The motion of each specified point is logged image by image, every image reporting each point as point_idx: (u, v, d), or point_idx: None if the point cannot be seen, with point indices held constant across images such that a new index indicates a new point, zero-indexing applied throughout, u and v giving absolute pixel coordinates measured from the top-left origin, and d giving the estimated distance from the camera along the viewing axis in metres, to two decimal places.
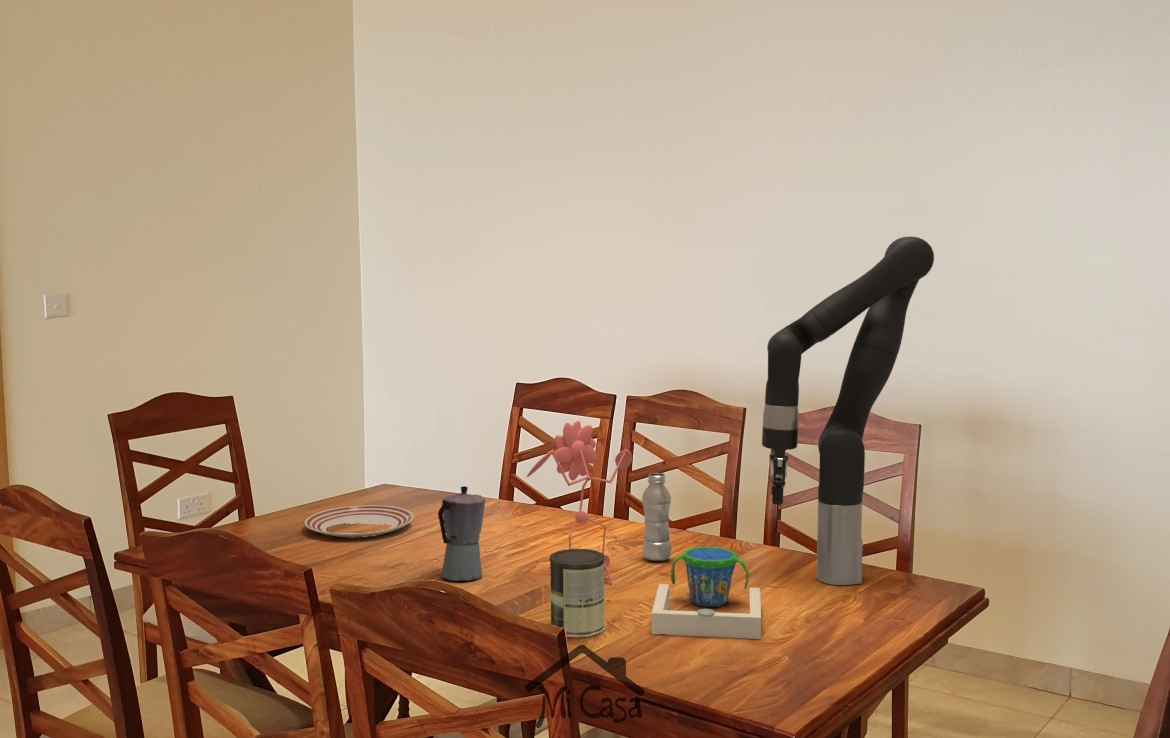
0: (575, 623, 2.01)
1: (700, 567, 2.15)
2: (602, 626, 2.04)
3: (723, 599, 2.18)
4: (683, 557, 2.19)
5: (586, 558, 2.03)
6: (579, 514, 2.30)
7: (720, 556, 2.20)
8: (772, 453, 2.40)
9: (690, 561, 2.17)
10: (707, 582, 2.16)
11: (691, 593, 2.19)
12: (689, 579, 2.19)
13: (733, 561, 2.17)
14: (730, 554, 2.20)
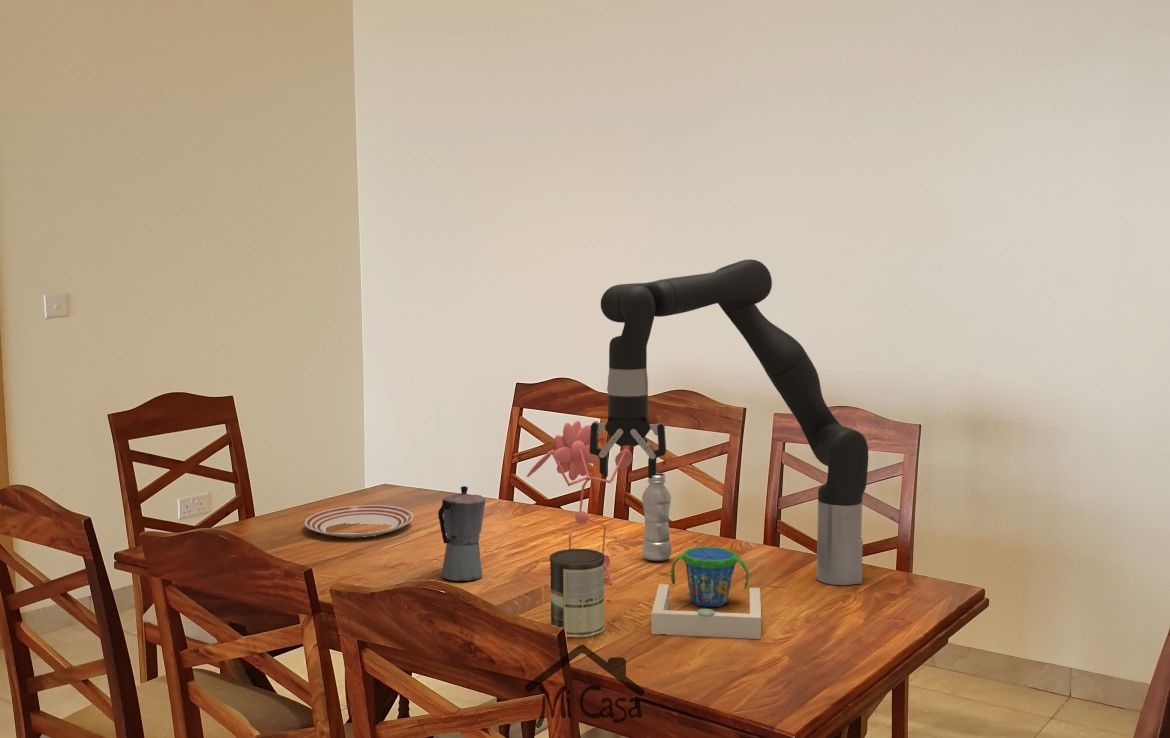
0: (575, 623, 2.01)
1: (700, 567, 2.15)
2: (602, 626, 2.04)
3: (723, 599, 2.18)
4: (683, 557, 2.19)
5: (586, 558, 2.03)
6: (579, 514, 2.30)
7: (720, 556, 2.20)
8: (597, 430, 2.05)
9: (690, 561, 2.17)
10: (707, 582, 2.16)
11: (691, 593, 2.19)
12: (689, 579, 2.19)
13: (733, 561, 2.17)
14: (730, 554, 2.20)
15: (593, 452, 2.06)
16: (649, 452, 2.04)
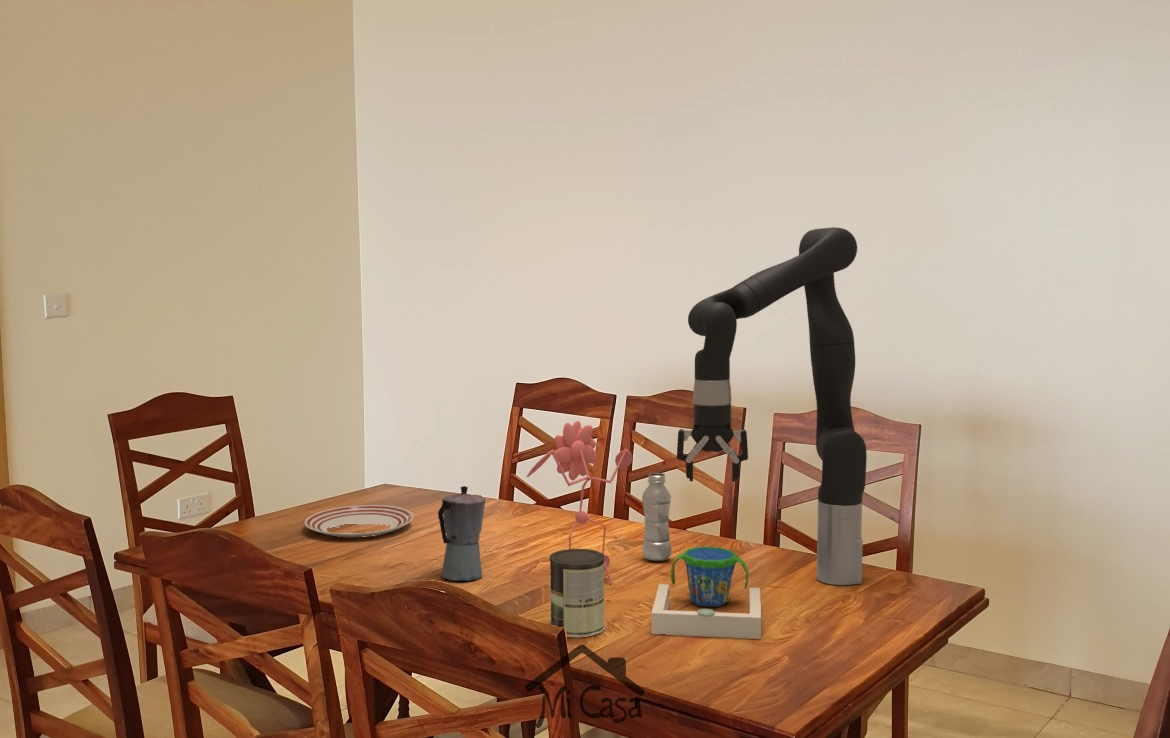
0: (575, 623, 2.01)
1: (700, 567, 2.15)
2: (602, 626, 2.04)
3: (723, 599, 2.18)
4: (683, 557, 2.19)
5: (586, 558, 2.03)
6: (579, 514, 2.30)
7: (720, 556, 2.20)
8: (683, 437, 2.20)
9: (690, 561, 2.17)
10: (707, 582, 2.16)
11: (691, 593, 2.19)
12: (689, 579, 2.19)
13: (733, 561, 2.17)
14: (730, 554, 2.20)
15: (680, 458, 2.20)
16: (733, 457, 2.19)
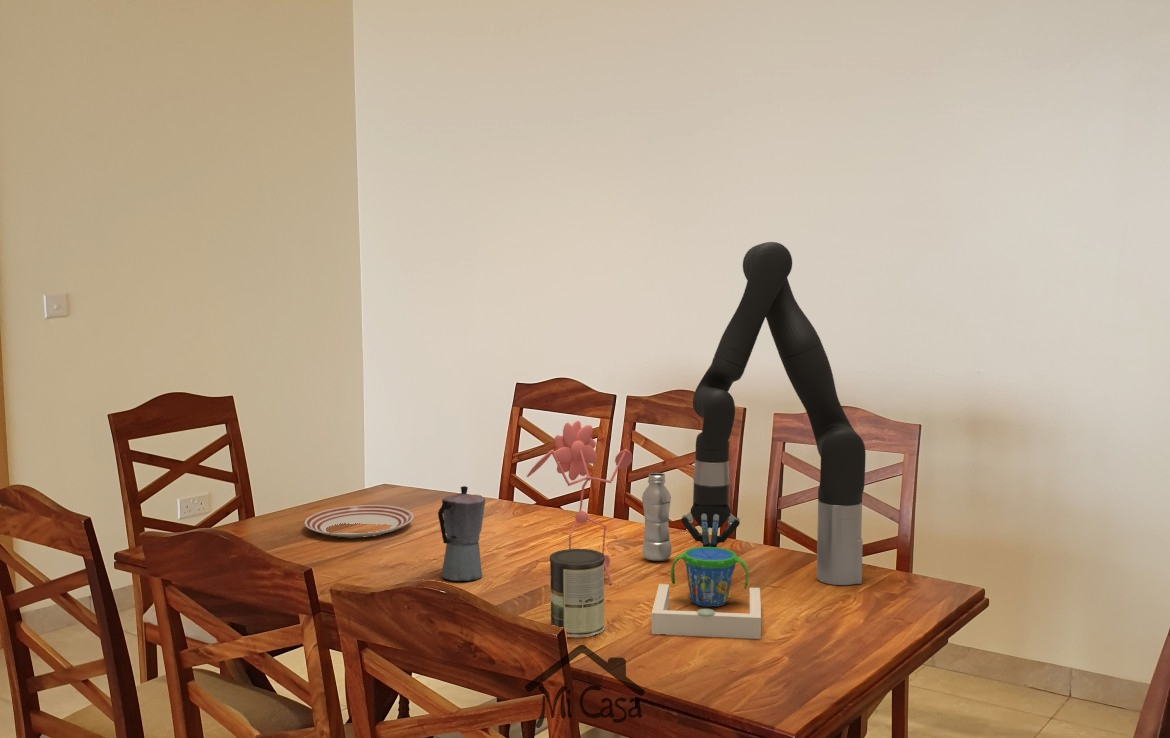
0: (575, 623, 2.01)
1: (700, 567, 2.15)
2: (602, 626, 2.04)
3: (723, 599, 2.18)
4: (683, 557, 2.19)
5: (586, 558, 2.03)
6: (579, 514, 2.30)
7: (720, 556, 2.20)
8: (688, 521, 2.32)
9: (690, 561, 2.17)
10: (707, 582, 2.16)
11: (691, 593, 2.19)
12: (689, 579, 2.19)
13: (733, 561, 2.17)
14: (730, 554, 2.20)
15: (698, 539, 2.32)
16: (713, 538, 2.32)
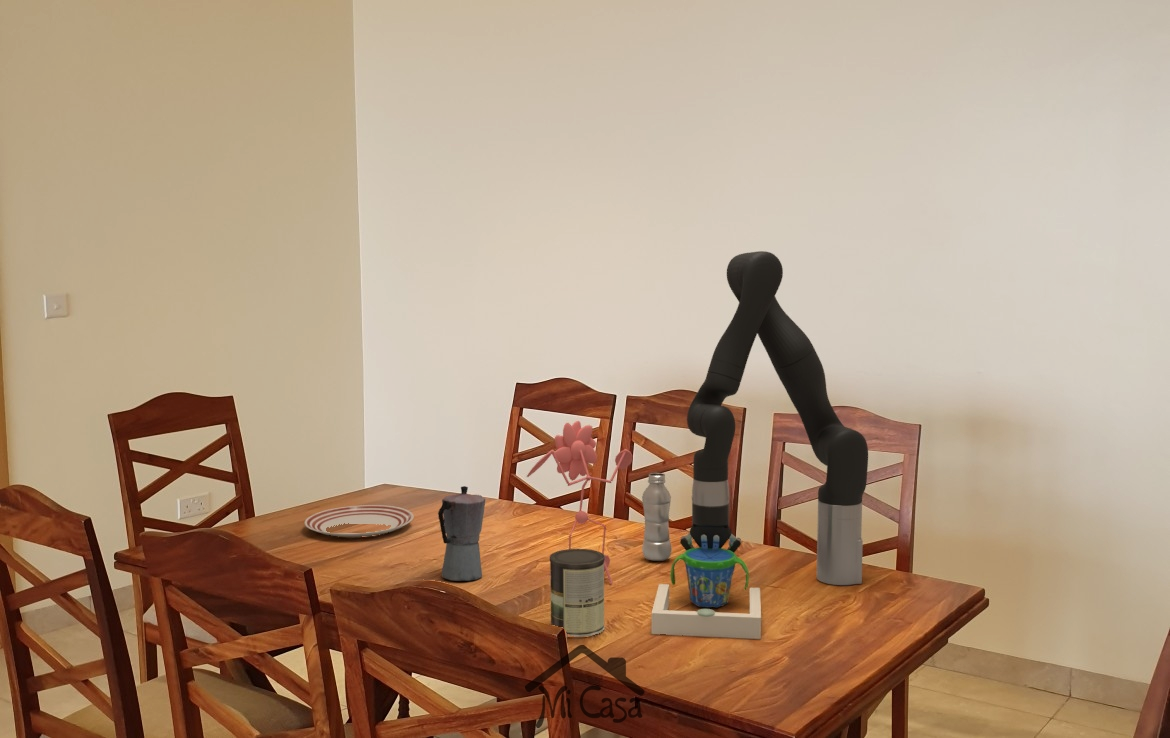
0: (575, 623, 2.01)
1: (699, 568, 2.15)
2: (602, 626, 2.04)
3: (722, 600, 2.17)
4: (683, 558, 2.19)
5: (586, 558, 2.03)
6: (579, 514, 2.30)
7: (720, 557, 2.19)
8: (687, 543, 2.24)
9: (689, 562, 2.16)
10: (706, 583, 2.15)
11: (691, 594, 2.19)
12: (689, 580, 2.18)
13: (733, 562, 2.16)
14: (730, 555, 2.19)
15: None
16: None
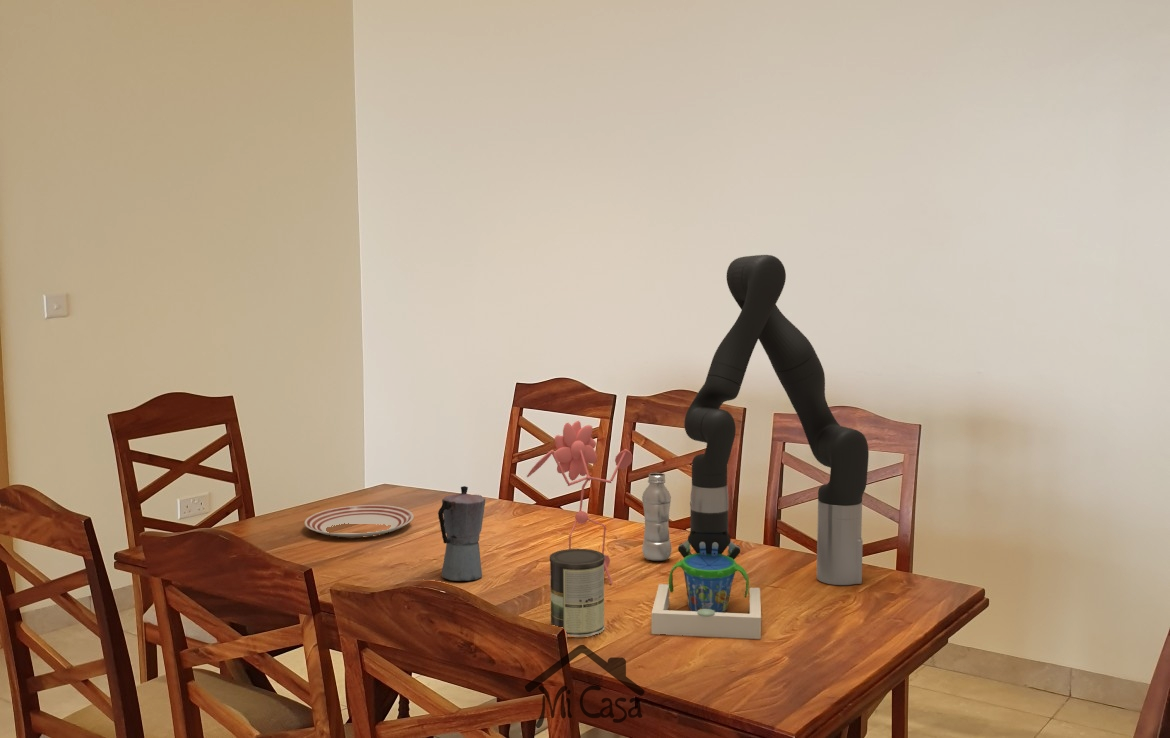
0: (575, 623, 2.01)
1: (699, 577, 2.09)
2: (602, 626, 2.04)
3: (722, 608, 2.12)
4: (681, 565, 2.13)
5: (586, 558, 2.03)
6: (579, 514, 2.30)
7: (719, 564, 2.13)
8: (685, 550, 2.19)
9: (688, 570, 2.10)
10: (705, 592, 2.10)
11: (689, 602, 2.13)
12: (687, 588, 2.13)
13: (733, 569, 2.11)
14: (729, 562, 2.13)
15: None
16: None
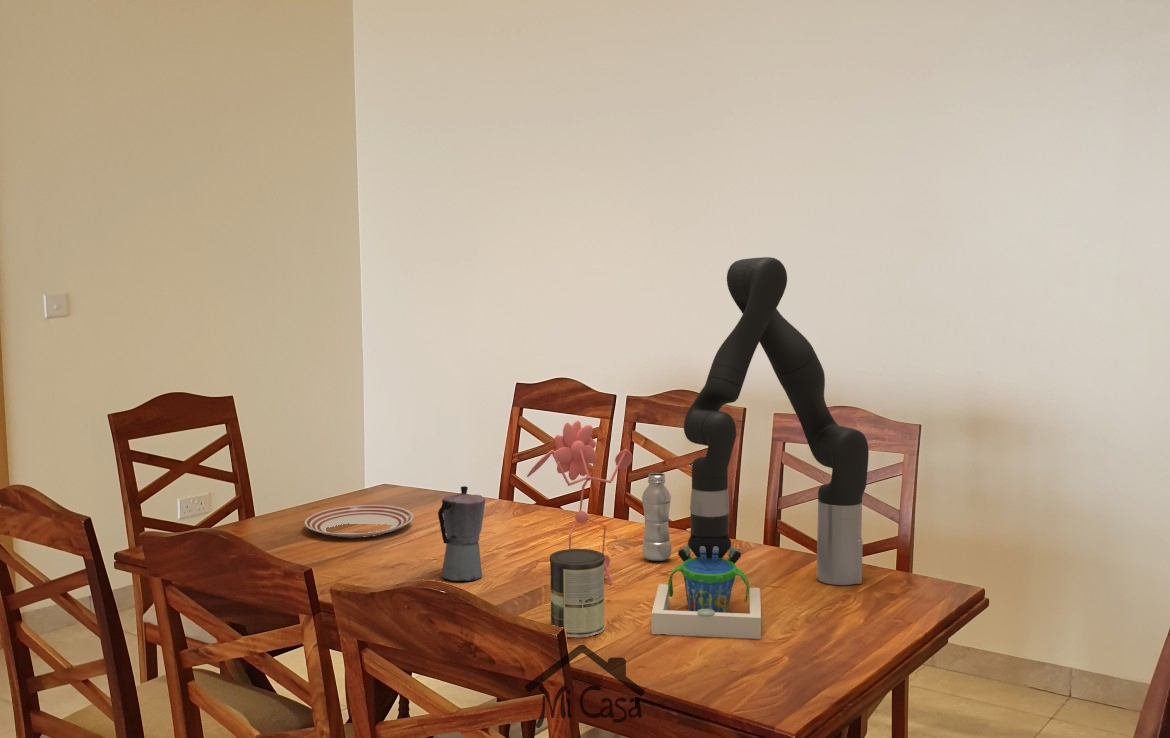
0: (575, 623, 2.01)
1: (698, 581, 2.06)
2: (602, 626, 2.04)
3: None
4: (681, 569, 2.10)
5: (586, 558, 2.03)
6: (579, 514, 2.30)
7: (719, 568, 2.11)
8: (685, 554, 2.16)
9: (687, 575, 2.08)
10: (705, 597, 2.07)
11: (689, 606, 2.11)
12: (687, 592, 2.10)
13: (733, 574, 2.08)
14: (730, 566, 2.11)
15: None
16: None
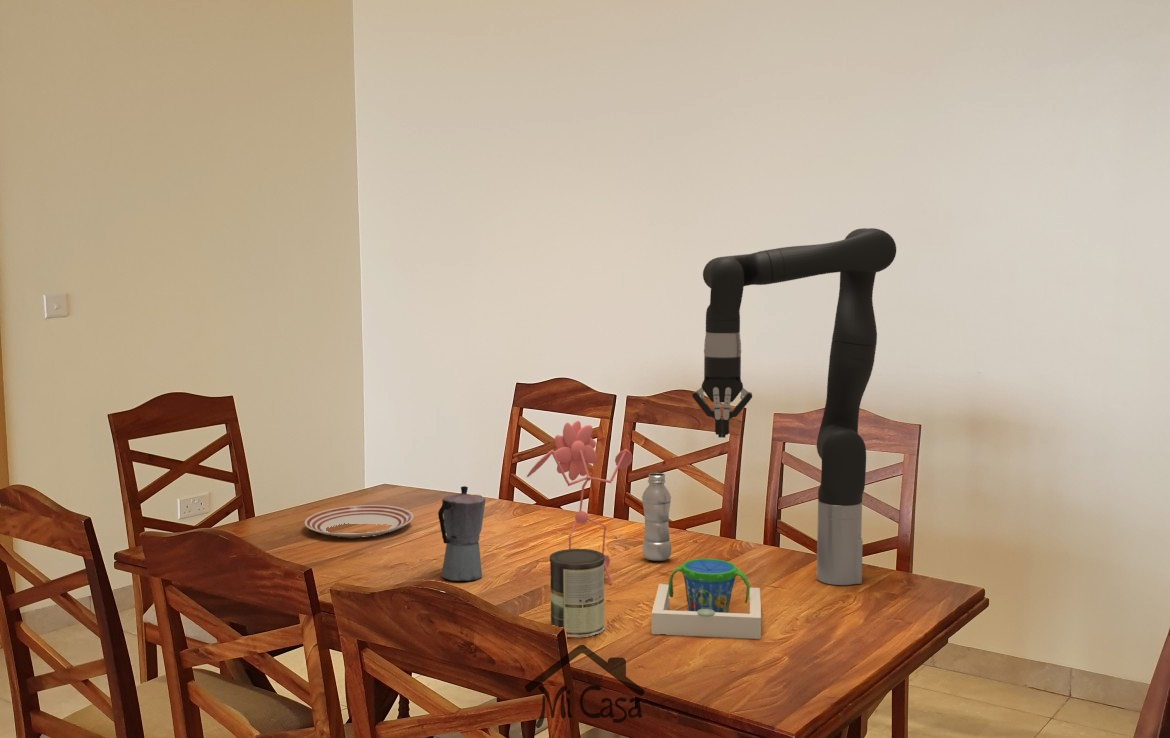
0: (575, 623, 2.01)
1: (698, 580, 2.07)
2: (602, 626, 2.04)
3: None
4: (681, 569, 2.11)
5: (586, 558, 2.03)
6: (579, 514, 2.30)
7: (720, 569, 2.11)
8: (699, 396, 2.27)
9: (688, 574, 2.08)
10: (705, 596, 2.07)
11: (689, 607, 2.11)
12: (687, 592, 2.10)
13: (733, 574, 2.08)
14: (730, 567, 2.11)
15: (710, 414, 2.27)
16: (726, 413, 2.26)
